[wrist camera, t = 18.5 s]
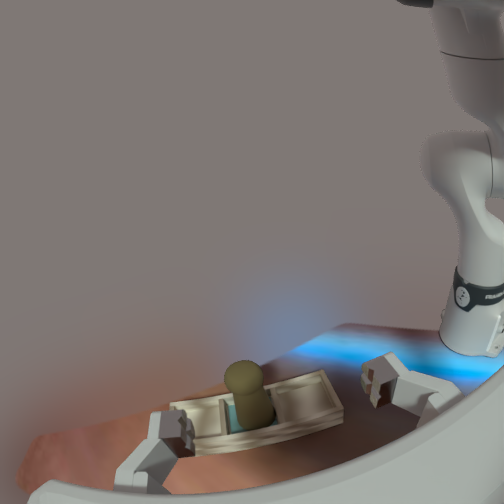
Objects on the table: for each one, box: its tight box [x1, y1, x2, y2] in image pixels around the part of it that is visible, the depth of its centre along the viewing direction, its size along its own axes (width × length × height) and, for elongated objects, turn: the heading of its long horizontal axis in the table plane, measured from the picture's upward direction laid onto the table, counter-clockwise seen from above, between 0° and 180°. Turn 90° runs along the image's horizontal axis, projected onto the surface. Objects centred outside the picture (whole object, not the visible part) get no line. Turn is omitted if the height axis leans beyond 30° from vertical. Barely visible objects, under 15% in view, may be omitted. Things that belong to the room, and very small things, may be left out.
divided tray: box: [169, 370, 344, 457], centre depth 37 cm, size 26×9×4 cm, turn 98°
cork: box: [224, 360, 276, 431], centre depth 35 cm, size 6×6×11 cm
